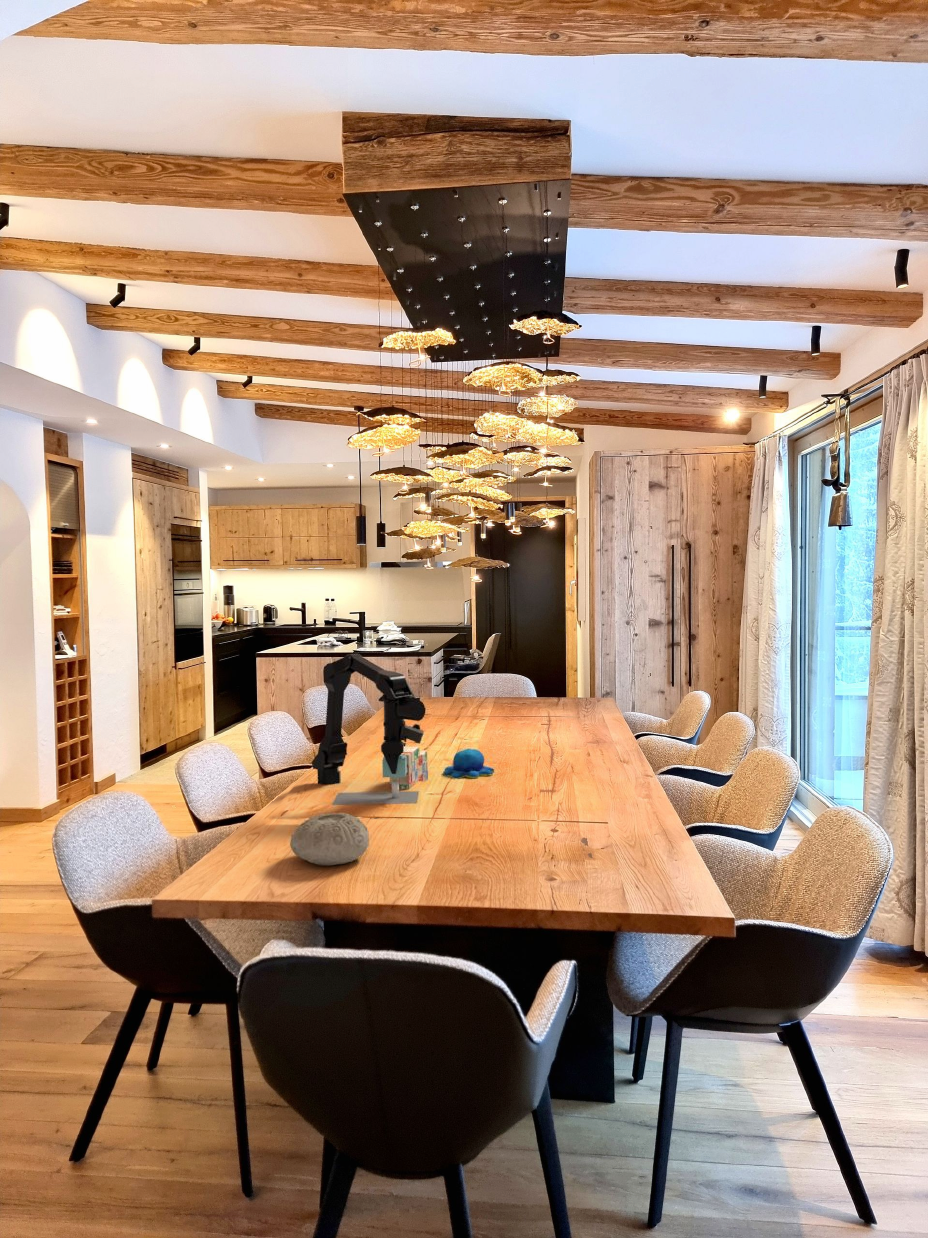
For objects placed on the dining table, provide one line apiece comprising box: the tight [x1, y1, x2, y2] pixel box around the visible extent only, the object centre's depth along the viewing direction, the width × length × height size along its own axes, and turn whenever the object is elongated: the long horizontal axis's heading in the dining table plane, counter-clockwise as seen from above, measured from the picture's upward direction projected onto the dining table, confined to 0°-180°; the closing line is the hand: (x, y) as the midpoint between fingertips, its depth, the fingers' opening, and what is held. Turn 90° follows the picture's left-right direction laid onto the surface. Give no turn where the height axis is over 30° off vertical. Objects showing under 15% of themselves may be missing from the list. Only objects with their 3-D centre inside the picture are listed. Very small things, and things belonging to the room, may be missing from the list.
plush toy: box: [442, 748, 495, 779], centre depth 285 cm, size 17×17×8 cm
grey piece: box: [331, 781, 420, 806], centre depth 247 cm, size 24×14×6 cm, turn 91°
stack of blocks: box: [389, 746, 429, 790], centre depth 268 cm, size 21×6×12 cm, turn 167°
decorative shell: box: [289, 811, 370, 866], centre depth 196 cm, size 18×18×10 cm
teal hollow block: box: [382, 755, 407, 778], centre depth 247 cm, size 6×6×5 cm
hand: (394, 771), depth 247 cm, fingers closed on teal hollow block, 6 cm apart
